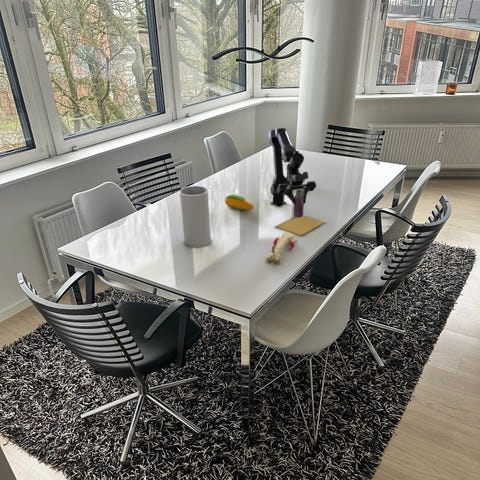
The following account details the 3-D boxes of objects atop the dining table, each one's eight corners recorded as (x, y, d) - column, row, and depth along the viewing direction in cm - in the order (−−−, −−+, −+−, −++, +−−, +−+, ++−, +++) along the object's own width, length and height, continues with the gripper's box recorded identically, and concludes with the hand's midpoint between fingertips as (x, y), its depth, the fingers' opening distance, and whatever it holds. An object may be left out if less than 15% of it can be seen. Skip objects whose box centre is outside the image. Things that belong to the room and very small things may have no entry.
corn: (229, 190, 253) (258, 197, 243) (231, 203, 258) (258, 211, 247) (221, 194, 249) (249, 202, 238) (222, 207, 254) (250, 216, 243)
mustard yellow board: (299, 215, 242) (299, 214, 241) (324, 223, 233) (324, 222, 233) (275, 227, 230) (275, 226, 230) (301, 235, 221) (301, 235, 221)
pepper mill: (294, 213, 228) (295, 189, 220) (303, 214, 227) (305, 189, 219) (292, 217, 224) (293, 192, 217) (302, 217, 223) (303, 193, 216)
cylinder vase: (200, 249, 211) (196, 197, 197) (179, 243, 217) (174, 192, 202) (215, 239, 220) (213, 188, 205) (195, 234, 225) (190, 184, 211)
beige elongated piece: (283, 267, 198) (300, 239, 215) (283, 250, 192) (301, 223, 210) (261, 263, 201) (280, 236, 219) (261, 246, 196) (280, 220, 213)
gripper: (279, 167, 213) (285, 198, 211) (316, 164, 216) (323, 194, 214) (274, 178, 224) (279, 208, 222) (310, 175, 227) (316, 204, 225)
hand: (299, 203), depth 220 cm, fingers closed on pepper mill, 5 cm apart
